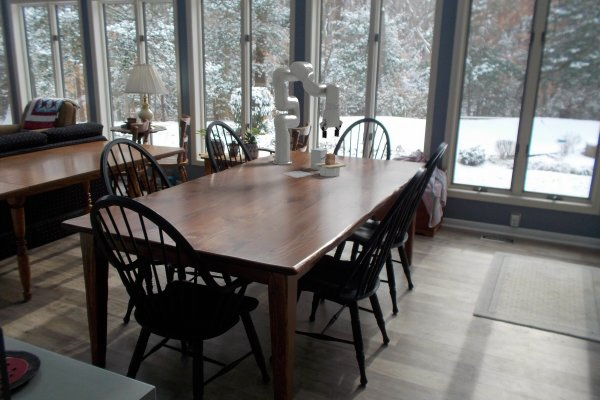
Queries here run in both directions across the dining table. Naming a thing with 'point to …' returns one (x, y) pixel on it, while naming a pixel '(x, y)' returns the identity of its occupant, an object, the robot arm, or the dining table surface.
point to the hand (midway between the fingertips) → (330, 137)
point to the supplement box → (317, 157)
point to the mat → (298, 174)
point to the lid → (329, 162)
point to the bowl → (329, 172)
